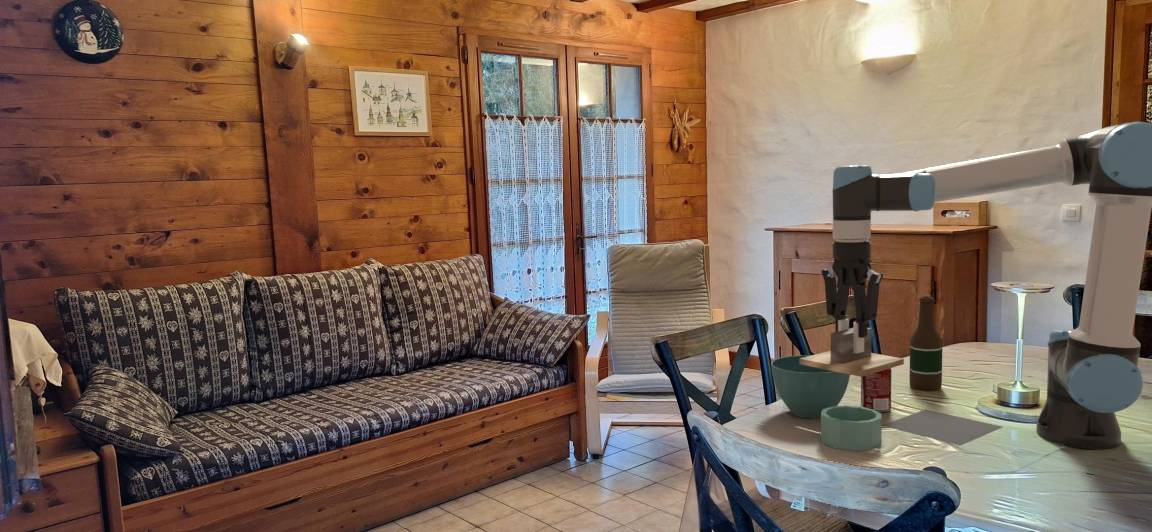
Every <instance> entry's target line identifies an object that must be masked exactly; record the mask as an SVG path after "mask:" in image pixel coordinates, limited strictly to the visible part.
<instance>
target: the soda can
mask: <svg viewBox="0 0 1152 532" xmlns="http://www.w3.org/2000/svg"><path fill="white" fill-rule="evenodd" d="M860 407H865V408H869V409H873V410H875V411H877V412H879V413H880V414H881V413H886V412H890V411H891V410H892V368H889V369H886V370H883V371H879V372H876V373H872V374H869V375H866V376H862V377H860Z"/></svg>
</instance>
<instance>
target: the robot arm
mask: <svg viewBox="0 0 1152 532" xmlns="http://www.w3.org/2000/svg"><path fill="white" fill-rule="evenodd" d="M833 170H834V171H833V177H832V239H834V240H835V241H833V242H832V258H833V263H832V267H828V268H825V269H823V270H821V275H822V277H823V281H824V291H825V293H824V294H825V306H826V307H825V308H826V315H828V316H831V317H833V318H834V319H835V320H834V321H835V324H834V325H835V326H834V327H835V331H834V332H838V331H842V330H846V329H850V318H848V316H849V315H848V314H847V309H848V302H849V296H850V295H849V294H850V288H851V291H853V292H852V293H853V299H854V308H855V315H856V319H855V320H854V321H853V323H852V324H853V327H852V328H853V353H856V354H857V353H861V352H864V337H867V328H868V323H869V321H872V320H876V319H877V316H878V307H879V306H878V305H879V294H880V284H881V282H882V280H883V277H884V274H883V273H882V272H879V273H878V272H876V271H875V270H873V269H872V266H871V262H870V260H871V255H872V250H871V249H872V244H871V243H872V242H871V241H870V240H869V239H871V238H872V237H871V235H872V232H871V231H872V230H871V229H872V226H871V225H872V220H871V219H872V212H883V211H884V212H890V211H891V212H913V211H914V212H921V211H930V210H932V209H933V208H934V207H935V203H939V202H946V201H952V200H958V199H959V200H960V199H964V198H971V197H978V196H983V195H990V194H996V193H1001V192H1003V193H1004V192H1008V191H1015V190H1021V189H1027V188H1034V187H1041V186H1046V185H1047V186H1048V185H1054V184H1058V183H1062V184H1064V185H1066V186H1068V187H1071V186H1078V185H1089V186H1088V196H1089V197H1090V198H1091V199H1092V200H1094V202H1095V211H1094V217H1093V218H1094V219H1093V225H1092V233H1091V237H1090V238H1091V240H1090V245H1089V246H1090V247H1089V254H1088V259H1087V267H1086V275H1085V282H1084V289H1083V296H1082V303H1081V308H1080V309H1081V311H1080V317H1079V318H1080V319H1079V325H1078V327H1076V328H1060V329H1058V328H1057V329H1053V330H1052V331H1050V332H1049V334H1048V335H1049V336H1048V342H1047V348H1048V349H1047V350H1048V351H1047V382H1046V384H1047V385H1046V387H1047V388H1046V399H1045V402H1044V404H1043V406H1042V409H1041V411H1040V413H1039V416H1038V418H1037V421H1036V434H1037V435H1038V436H1039V437H1040V438H1042V439H1045V440H1047V441H1049V442H1052V443H1056V444H1060V445H1063V446H1066V447H1071V448H1079V449H1087V450H1088V449H1089V450H1102V449H1103V450H1105V449H1112V448H1117V447H1118V446H1120V445H1121V443H1122V431H1121V427H1120V425H1119V422H1118V419H1117V416H1116V413H1117V412H1121V411H1123V410H1126V409H1127V408H1130V407H1131V406H1132V405H1133V404H1134V403H1135V402H1136V401H1137V400H1138V399H1139V398H1140V396H1141V394H1142V392H1143V388H1144V381H1143V377H1142V373H1141V370H1140V369H1139V367H1138V365H1139V358H1140V353H1141V351H1140V350H1141V347H1142V346H1141V344H1142V343H1140V341H1139V340H1138V339H1137V338H1136V337H1135V336H1134V334H1133V332H1134V325H1135V319H1136V312H1137V305H1138V299H1139V291H1140V285H1141V278H1142V273H1143V266H1144V258H1145V253H1146V246H1147V239H1148V233H1149V227H1150V220H1151V214H1152V123H1149V122H1144V121H1143V122H1142V121H1132V122H1131V121H1128V122H1124V123H1121V124H1114V125H1109V126H1107V127H1104V128H1101V129H1098V130H1095V131H1092V132H1089V133H1085V134H1081V135H1079V136H1078V135H1077V136H1075V137H1069V138H1068V137H1067V138H1064V139H1061V140H1060V141H1058V143H1057V145H1052V146H1047V147H1046V146H1045V147H1040V148H1035V149H1029V150H1023V151H1018V152H1017V151H1016V152H1012V153H1007V154H1002V155H996V156H995V155H994V156H990V157H984V158H979V159H973V160H972V159H971V160H967V161H961V162H955V163H949V164H945V165H939V166H934V167H926V168H922V169H917V170H910V171H900V172H895V173H889V174H886V173H885V174H876V173H873V171H872V167H871V166H870V165H868V164H867V165H840V166H837V167H836V168H835V169H833ZM836 277H837V278H836ZM866 280H867V282H866Z"/></svg>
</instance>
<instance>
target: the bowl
mask: <svg viewBox="0 0 1152 532" xmlns="http://www.w3.org/2000/svg"><path fill="white" fill-rule="evenodd" d="M882 416H883V414H882V413H881V412H880V413H879V412H877V411H875V410H873V409H869V408H865V407H861V406H860V405H859V406H855V405H847V404H846V405H845V404H844V405H837V406H831V407H829V408H825V409H822V412H821V417H820V441H821V442H822V443H823V444H825V446H827V447H831V448H834V449H838V450H840V451H841V450H843V451H851V452H861V451H873V450H875V449H877V447H879V446H881V445H882V437H883V436H882V432H883V431H882V429H883V428H882V427H883V426H882V425H883V424H882V421H883V417H882Z"/></svg>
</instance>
